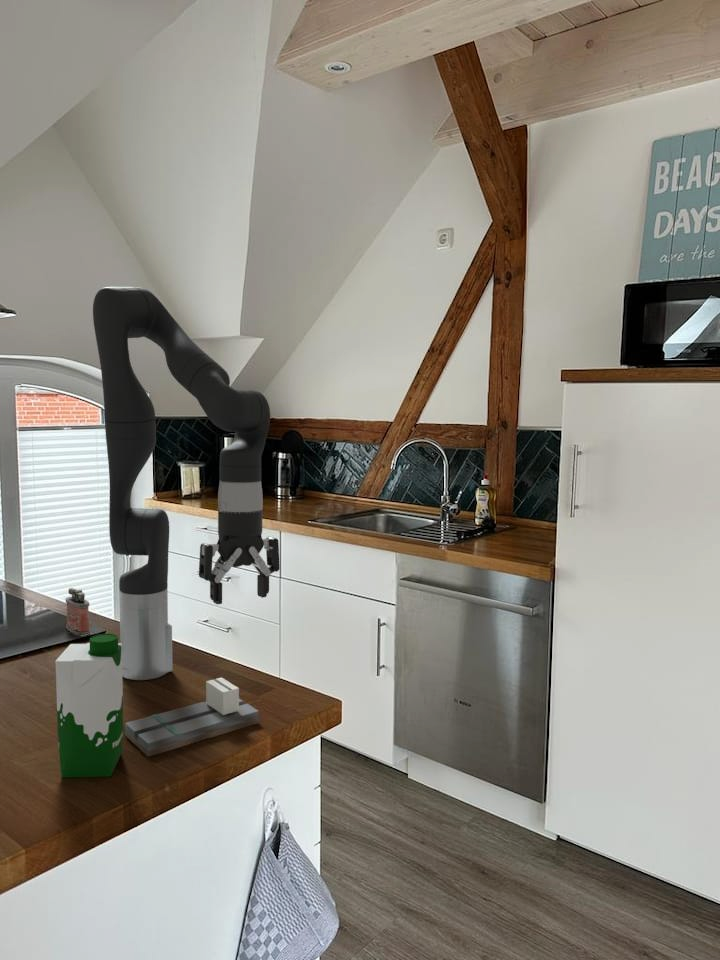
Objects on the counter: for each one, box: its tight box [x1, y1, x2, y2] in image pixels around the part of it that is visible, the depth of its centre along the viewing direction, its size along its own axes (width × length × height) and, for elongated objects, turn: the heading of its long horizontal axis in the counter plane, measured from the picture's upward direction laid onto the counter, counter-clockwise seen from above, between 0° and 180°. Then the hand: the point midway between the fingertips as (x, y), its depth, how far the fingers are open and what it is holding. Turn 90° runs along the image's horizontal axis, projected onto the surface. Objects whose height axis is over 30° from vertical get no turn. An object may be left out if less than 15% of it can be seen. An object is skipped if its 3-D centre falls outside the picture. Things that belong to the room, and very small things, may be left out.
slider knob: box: [205, 676, 240, 715], centre depth 131 cm, size 3×6×5 cm, turn 39°
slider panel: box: [124, 698, 260, 758], centre depth 127 cm, size 20×9×2 cm, turn 129°
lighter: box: [65, 587, 91, 635], centre depth 176 cm, size 8×3×10 cm, turn 47°
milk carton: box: [54, 633, 124, 779], centre depth 114 cm, size 9×9×20 cm
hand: (240, 599), depth 131 cm, fingers open, 8 cm apart
